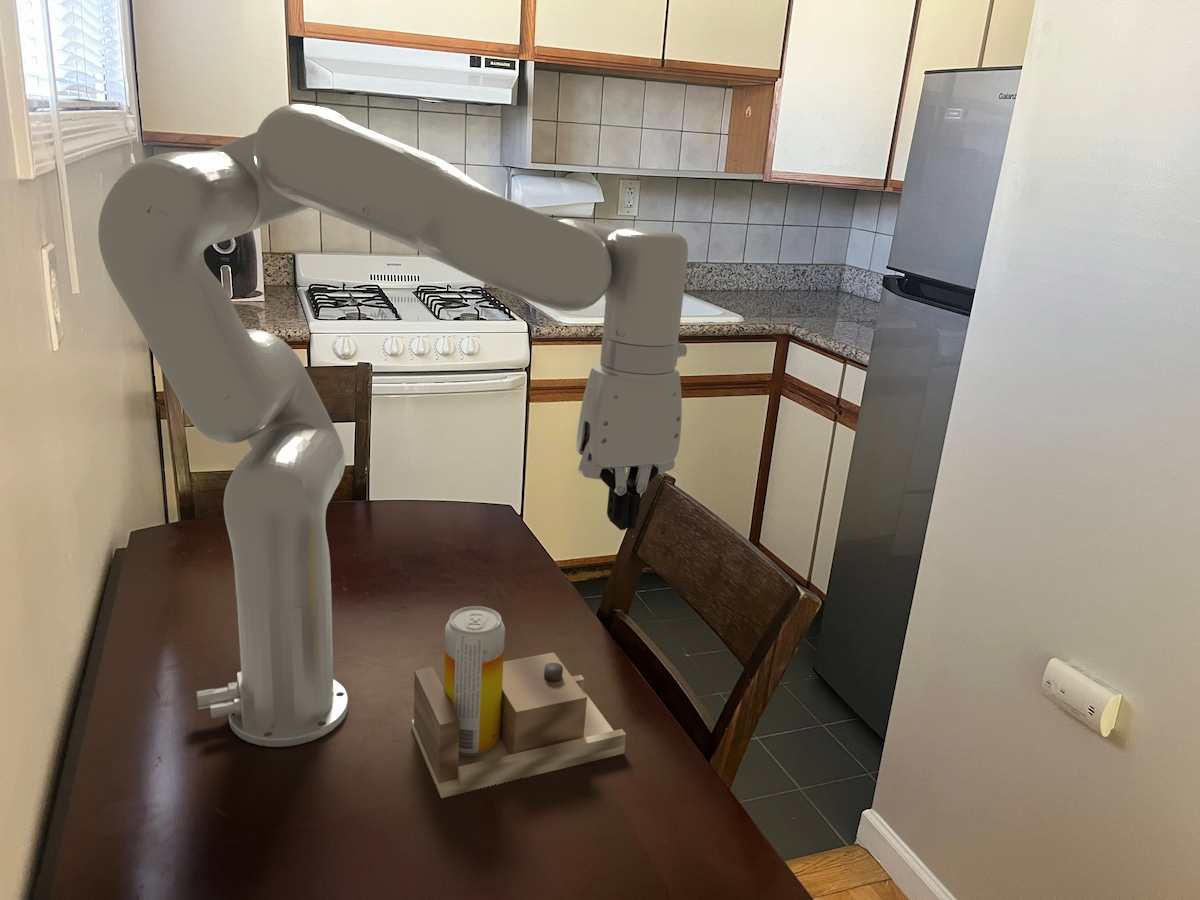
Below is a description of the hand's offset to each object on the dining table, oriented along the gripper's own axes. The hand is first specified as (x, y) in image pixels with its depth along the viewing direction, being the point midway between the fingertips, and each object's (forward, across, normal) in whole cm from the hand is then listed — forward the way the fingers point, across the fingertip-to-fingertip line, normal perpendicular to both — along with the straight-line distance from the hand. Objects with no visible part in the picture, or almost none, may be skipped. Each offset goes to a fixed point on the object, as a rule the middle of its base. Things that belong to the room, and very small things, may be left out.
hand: (621, 524), depth 95 cm
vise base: (+25, +10, 0) cm, 27 cm away
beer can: (+24, +16, 0) cm, 29 cm away
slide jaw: (+24, +9, 0) cm, 25 cm away
